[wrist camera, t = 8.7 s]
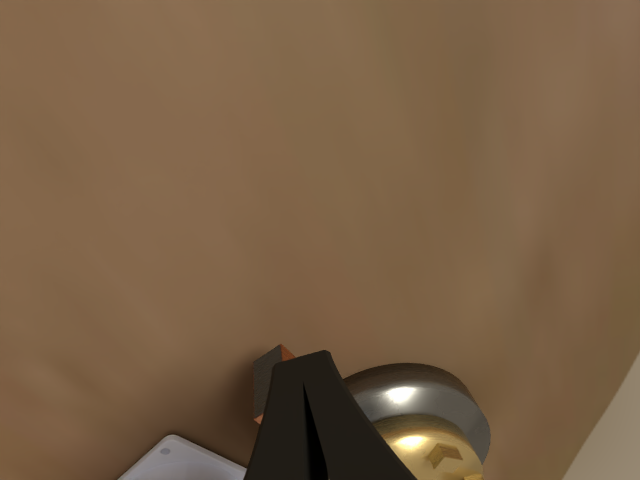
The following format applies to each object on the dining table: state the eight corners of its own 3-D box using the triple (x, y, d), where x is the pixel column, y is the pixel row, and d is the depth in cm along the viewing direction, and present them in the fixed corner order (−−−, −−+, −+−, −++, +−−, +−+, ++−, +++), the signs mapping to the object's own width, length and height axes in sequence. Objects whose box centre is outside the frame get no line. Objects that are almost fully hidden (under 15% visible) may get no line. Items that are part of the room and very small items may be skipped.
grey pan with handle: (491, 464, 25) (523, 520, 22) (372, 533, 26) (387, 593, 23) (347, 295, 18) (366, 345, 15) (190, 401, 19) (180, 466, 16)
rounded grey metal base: (373, 514, 29) (382, 544, 28) (250, 452, 24) (250, 484, 23) (506, 419, 27) (524, 446, 25) (399, 328, 22) (413, 354, 20)
